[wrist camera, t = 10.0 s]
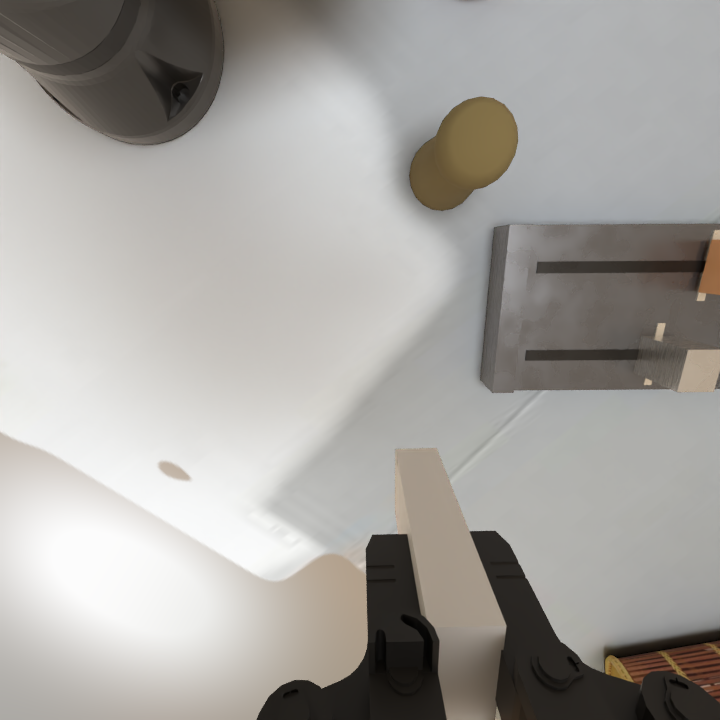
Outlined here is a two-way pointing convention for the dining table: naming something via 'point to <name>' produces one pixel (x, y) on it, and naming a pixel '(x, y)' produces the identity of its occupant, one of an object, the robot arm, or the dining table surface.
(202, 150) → the dining table surface
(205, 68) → the robot arm
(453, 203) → the cork
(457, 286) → the dining table surface
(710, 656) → the picnic basket
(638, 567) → the dining table surface
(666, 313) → the slider panel
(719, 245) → the fader
